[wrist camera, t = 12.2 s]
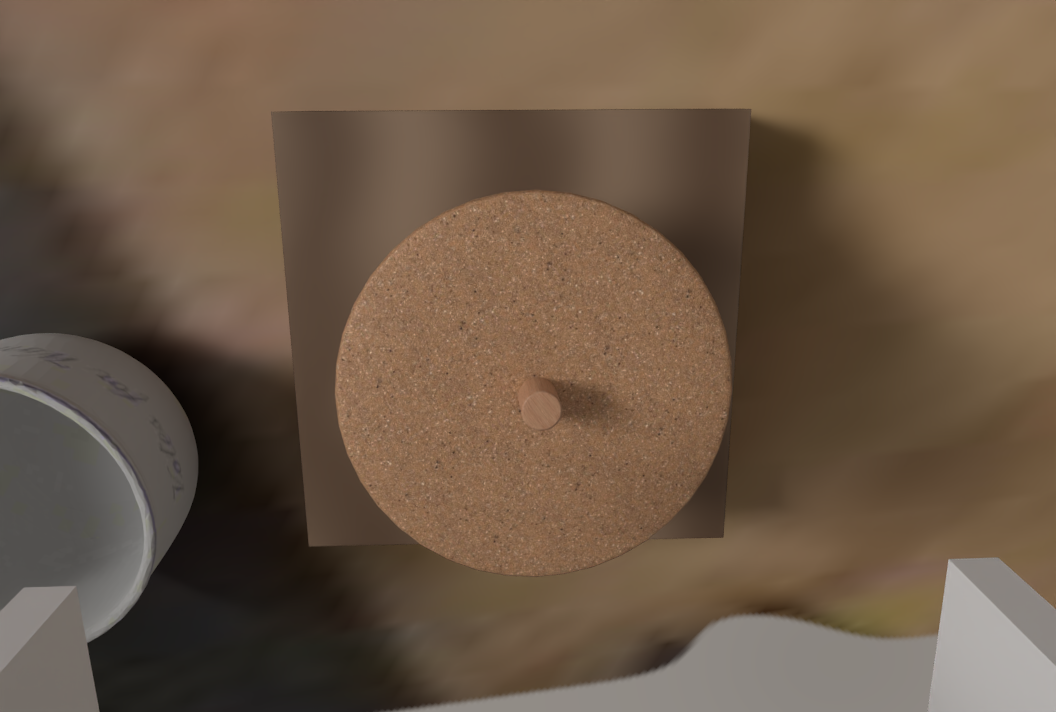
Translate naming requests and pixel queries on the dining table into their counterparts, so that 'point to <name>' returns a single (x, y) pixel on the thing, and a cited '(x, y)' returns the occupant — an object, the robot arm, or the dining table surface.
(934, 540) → the dining table surface
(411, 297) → the lidded jar
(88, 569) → the teacup
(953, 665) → the robot arm
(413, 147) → the walnut block
